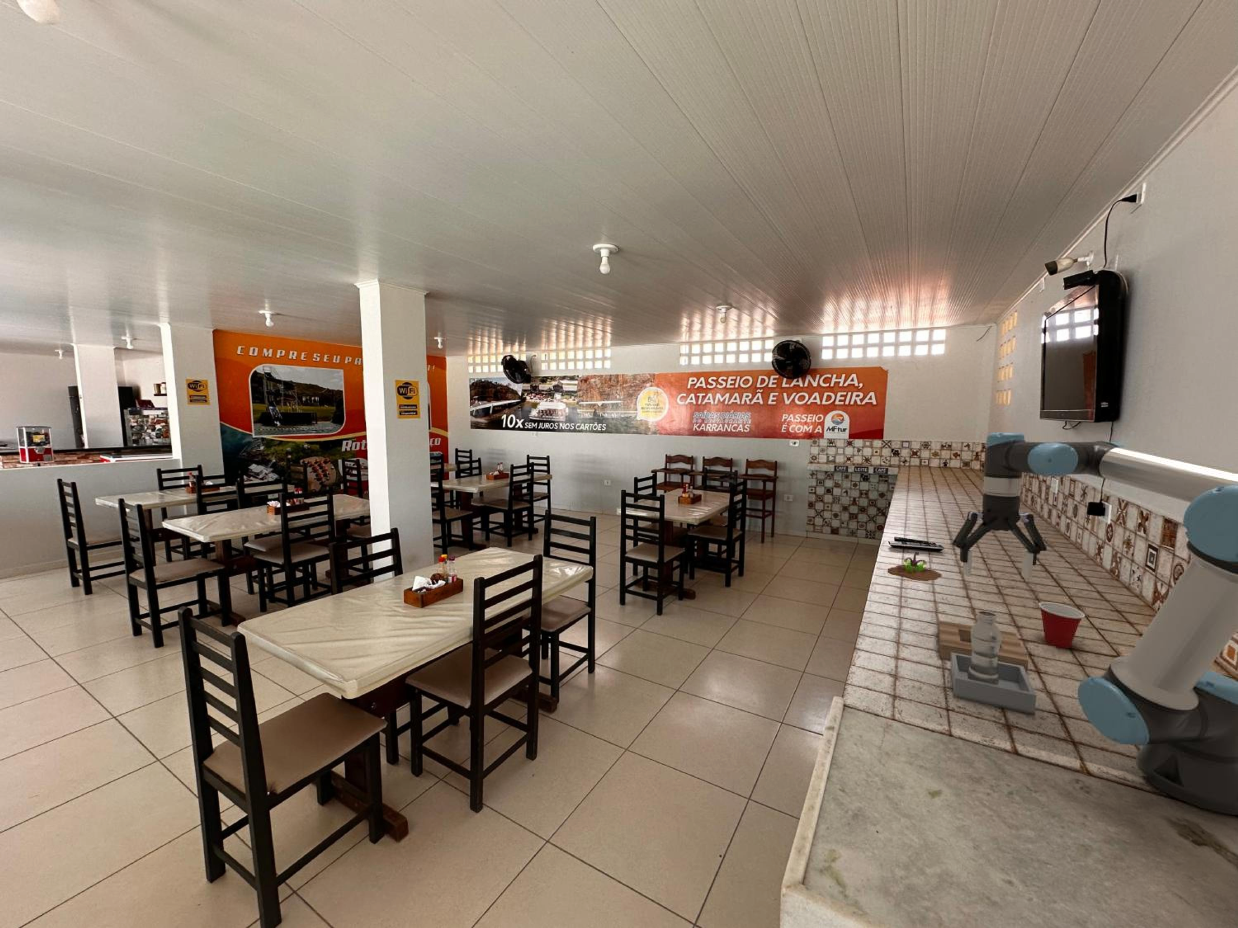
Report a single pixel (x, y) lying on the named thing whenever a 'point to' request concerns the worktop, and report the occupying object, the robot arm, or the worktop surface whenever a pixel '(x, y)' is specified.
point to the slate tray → (994, 686)
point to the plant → (914, 570)
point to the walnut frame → (959, 642)
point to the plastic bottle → (985, 649)
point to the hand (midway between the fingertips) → (996, 576)
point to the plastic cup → (1059, 623)
